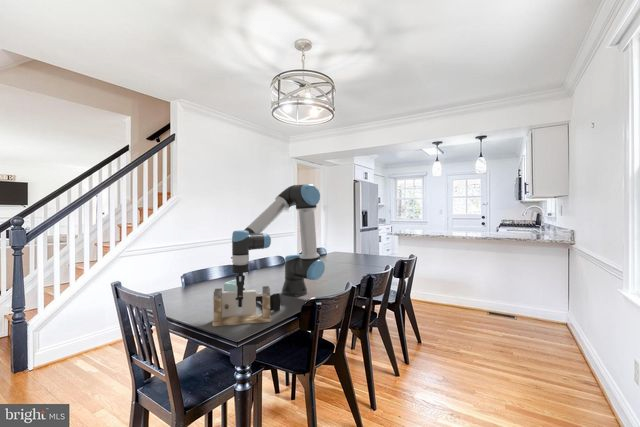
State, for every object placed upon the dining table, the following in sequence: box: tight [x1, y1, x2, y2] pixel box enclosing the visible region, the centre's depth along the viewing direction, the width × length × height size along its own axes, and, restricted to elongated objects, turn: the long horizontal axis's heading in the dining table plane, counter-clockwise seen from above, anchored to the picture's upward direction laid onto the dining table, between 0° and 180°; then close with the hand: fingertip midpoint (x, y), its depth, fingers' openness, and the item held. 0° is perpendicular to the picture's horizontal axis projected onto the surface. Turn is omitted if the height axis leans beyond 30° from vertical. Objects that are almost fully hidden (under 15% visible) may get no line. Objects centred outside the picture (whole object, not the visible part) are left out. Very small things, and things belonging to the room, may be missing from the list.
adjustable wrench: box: [256, 293, 282, 312], centre depth 161 cm, size 8×3×25 cm
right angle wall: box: [223, 278, 237, 291], centre depth 184 cm, size 12×12×8 cm
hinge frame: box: [211, 285, 272, 327], centre depth 138 cm, size 25×6×15 cm, turn 103°
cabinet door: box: [212, 289, 263, 317], centre depth 143 cm, size 22×5×12 cm, turn 103°
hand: (240, 308), depth 144 cm, fingers open, 13 cm apart
